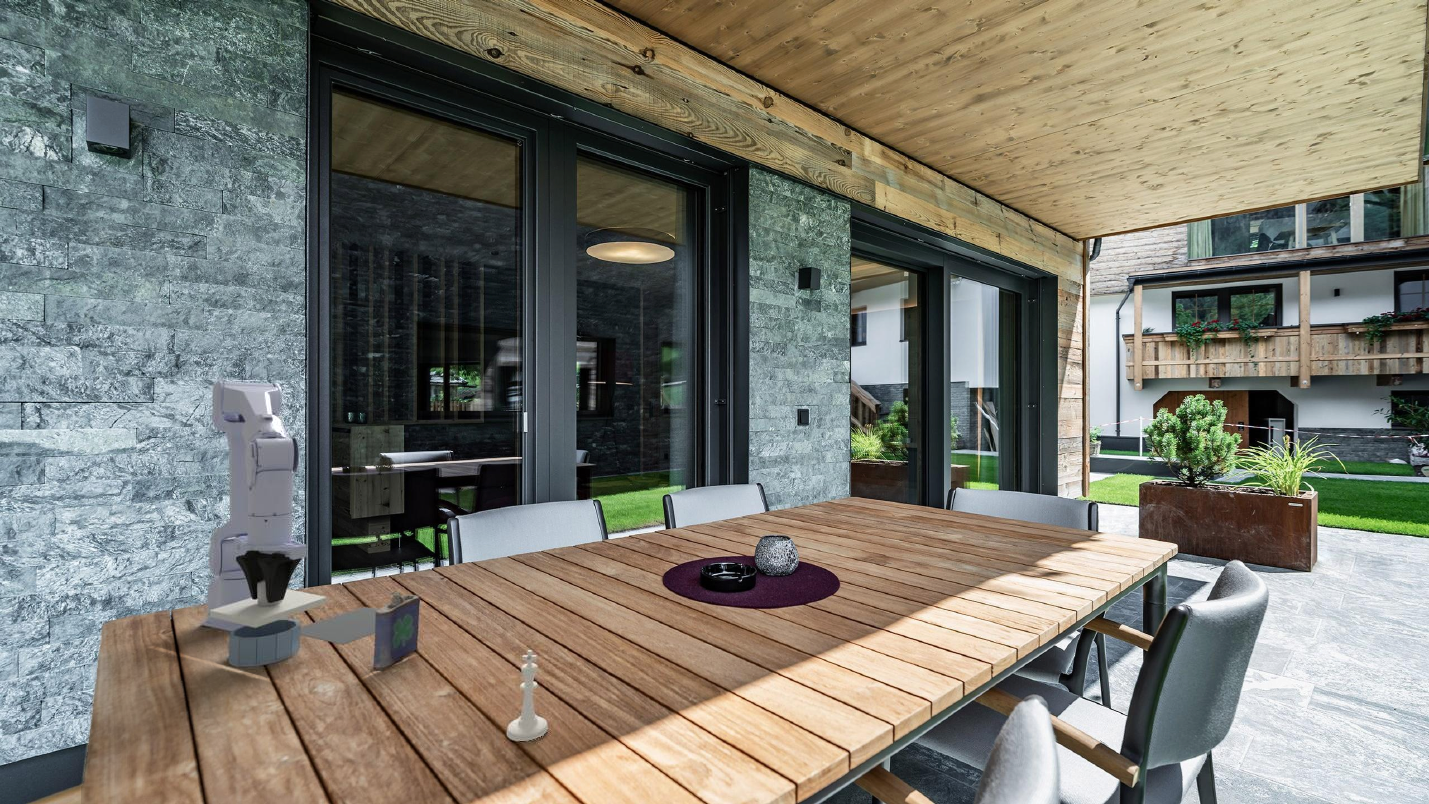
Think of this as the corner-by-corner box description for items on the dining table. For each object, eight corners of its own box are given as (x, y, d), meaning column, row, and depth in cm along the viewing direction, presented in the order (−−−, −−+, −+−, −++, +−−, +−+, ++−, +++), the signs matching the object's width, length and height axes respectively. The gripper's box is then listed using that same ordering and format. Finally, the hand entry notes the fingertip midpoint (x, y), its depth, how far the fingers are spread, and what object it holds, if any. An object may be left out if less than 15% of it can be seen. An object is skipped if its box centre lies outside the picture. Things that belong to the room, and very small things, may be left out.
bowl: (214, 662, 95) (216, 633, 95) (275, 642, 103) (276, 615, 103) (252, 673, 91) (253, 642, 92) (312, 651, 100) (312, 623, 100)
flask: (384, 672, 93) (386, 601, 93) (366, 671, 93) (368, 599, 93) (422, 649, 102) (423, 584, 102) (405, 648, 102) (407, 583, 103)
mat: (286, 633, 107) (286, 631, 107) (364, 608, 121) (364, 606, 121) (342, 646, 102) (343, 644, 102) (417, 619, 116) (417, 617, 116)
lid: (209, 616, 95) (209, 587, 95) (283, 594, 105) (282, 568, 105) (255, 627, 91) (254, 597, 91) (327, 603, 101) (326, 575, 101)
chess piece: (512, 721, 79) (514, 643, 79) (551, 721, 80) (553, 643, 80) (502, 742, 74) (504, 658, 74) (543, 741, 75) (546, 658, 75)
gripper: (213, 513, 97) (210, 600, 97) (274, 521, 91) (271, 613, 91) (261, 507, 103) (258, 588, 103) (320, 514, 98) (317, 600, 98)
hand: (267, 599), depth 98 cm, fingers closed on lid, 3 cm apart
